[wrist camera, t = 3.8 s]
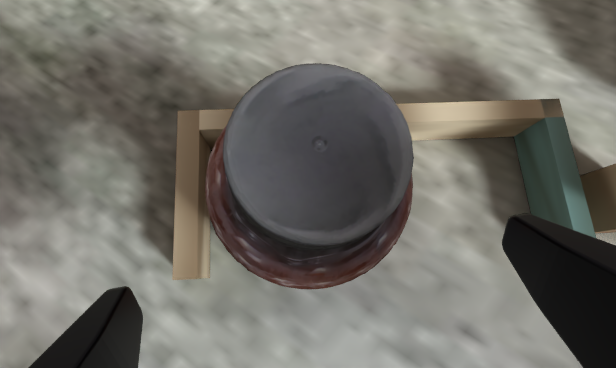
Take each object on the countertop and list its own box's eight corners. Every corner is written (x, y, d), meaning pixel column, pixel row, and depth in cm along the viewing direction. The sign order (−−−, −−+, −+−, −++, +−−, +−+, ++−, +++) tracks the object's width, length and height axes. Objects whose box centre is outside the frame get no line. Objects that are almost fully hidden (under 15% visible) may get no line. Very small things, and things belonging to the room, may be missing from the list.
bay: (188, 279, 17) (172, 279, 15) (191, 131, 19) (177, 110, 16) (558, 255, 18) (600, 252, 16) (526, 119, 20) (559, 98, 18)
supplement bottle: (217, 214, 18) (107, 118, 7) (306, 146, 19) (332, -28, 8) (290, 309, 17) (297, 370, 6) (380, 231, 18) (520, 163, 7)
